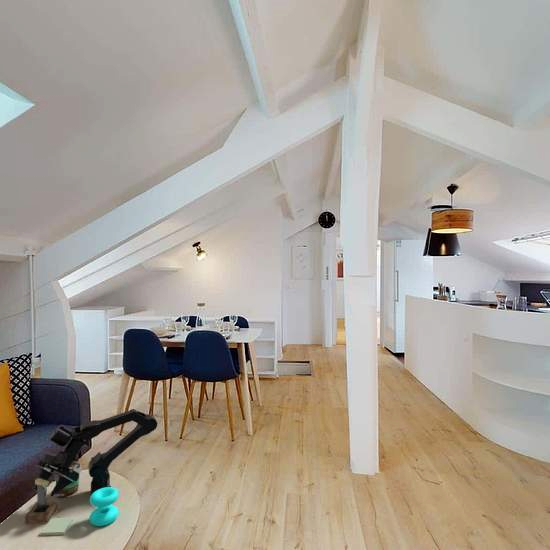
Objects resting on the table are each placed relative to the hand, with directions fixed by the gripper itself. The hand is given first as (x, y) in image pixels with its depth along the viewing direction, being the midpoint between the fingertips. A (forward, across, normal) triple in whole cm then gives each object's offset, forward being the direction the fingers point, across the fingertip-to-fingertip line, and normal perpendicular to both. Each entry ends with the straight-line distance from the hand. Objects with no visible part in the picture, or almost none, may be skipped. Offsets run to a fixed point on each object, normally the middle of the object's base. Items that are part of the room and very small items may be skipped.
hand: (43, 493), depth 147 cm
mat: (+7, +12, +5) cm, 14 cm away
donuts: (0, +22, +13) cm, 26 cm away
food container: (-4, -5, +17) cm, 18 cm away
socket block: (+6, 0, +6) cm, 9 cm away
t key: (+6, 0, +6) cm, 9 cm away
